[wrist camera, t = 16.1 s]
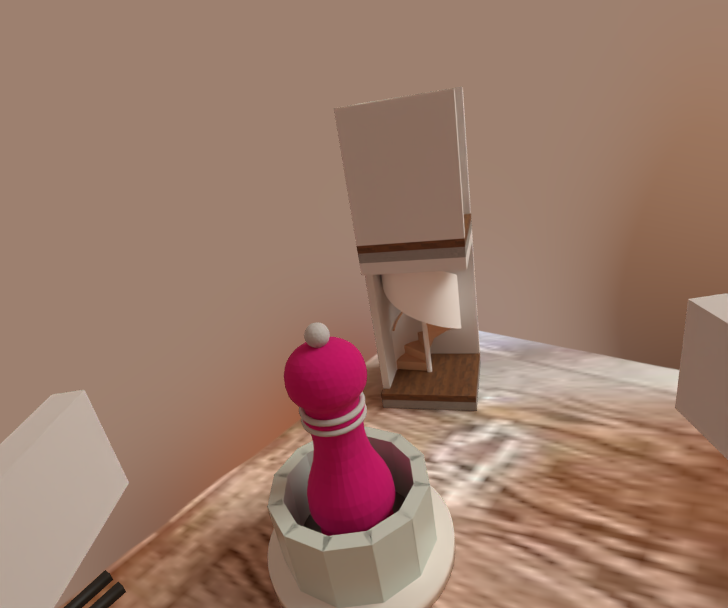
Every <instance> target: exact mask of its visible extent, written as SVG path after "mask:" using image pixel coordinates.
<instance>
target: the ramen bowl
mask: <svg viewBox="0 0 728 608" xmlns="http://www.w3.org/2000/svg"><path fill="white" fill-rule="evenodd" d="M112 580H113V579H112V577H111V575H110V574H109V573H108V572H107V571H106V570H105V571H104V572H103V573H102V574H100V575H99V576H98V577H97V578H96V579H95V580H94V581H93V582H92V583H91V584H89V585H88V586H87V587H86V588H85V589H84V590H83V591H82V592H81V593H80V594H78V595H77V596H76V597H75V598H74V599H73V600H72V601H71V602H70V603H69V604H67V605H66V606H65V607H64V608H82V607H83V606H84V605H85V604H87V603H88V602H89V601H90V600H91V599H92V598H93V597H94V596H95V595H97V594H98V593H99V592H100V591H101V590H102V589H103V588H104V587H105V586H107V585H108V584H109V583H110V582H111V581H112ZM125 592H126V591H125V589H124V587H123V586H122V585H121V584H120V583H119V582H117V583H116V584H115V585H114V586H113V587H112V588H111V589H109V590H108V591H107V592H106V593H105V594H104V595H103V596H102V597H101V598H99V599H98V600H97V601H96V602H95V603H94V604H93V605H92V606H91V607H89V608H108V607H109V606H111V605H112V604H113V603H114V602H115V601H116V600H117V599H118V598H120V597H121V596H122V595H123V594H124V593H125Z"/></svg>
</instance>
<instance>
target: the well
mask: <svg viewBox="0 0 728 608" xmlns="http://www.w3.org/2000/svg"><path fill="white" fill-rule="evenodd" d="M364 429H365V432H366V435H367V438H368V440H369V442H370V444H371V446H372V447H373V448H374V450H375V451H376V452H377V453H378V454H379V455H380V456H381V458H382V459H383V460H384V461H385V463H386V465H387V467H388V468H389V470H390V472H391V475H392V478H393V481H394V486H395V501H394V505H393V507H392V508H393V513H394V514H393V515H392V516H390V517H388V518H387V519H385V520H384V521H382V522H380V523H379V524H377V525H376V526H374V527H372V528H371V529H369V530H368V531H363V532H355V533H347V534H340V535H332V536H327V535H324V534H322V531H321V527H320V526H319V525H318V524H317V523H316V522H315V521H314V519H313V518H312V516H311V513H310V510H309V504H308V498H307V486H308V478H309V474H310V470H311V466H312V462H313V452H314V447H313V441H312V442H310V443H308V444H306V445H304V446H302V447H300V448H298V449H297V450H296V451H295V452H294V453H293V454H292V455H291V457H290V458H289V459H288V460H287V461H286V462H285V463H284V464H283V466H282V467H281V468H280V469H279V470H278V471H277V472H276V473H275V474H274V478H273V483H272V488H271V492H270V497H269V502H268V506H267V507H268V510H269V514H270V517H271V520H272V523H273V526H274V529H273V532H272V534H271V538H270V542H269V547H268V569H269V574H270V578H271V581H272V584H273V587H274V590H275V592H276V595H277V598H278V600H279V602H280V603H281V605H282V607H283V608H431V607H432V605H433V604H434V603H435V602H436V601H437V600H438V598H439V597H440V595H441V594H442V592H443V590H444V589H445V587H446V585H447V583H448V580H449V578H450V576H451V572H452V569H453V566H454V559H455V538H454V529H453V523H452V518H451V515H450V512H449V510H448V508H447V506H446V504H445V502H444V500H443V499H442V498H441V496H440V495H439V493H438V492H437V491H436V490H435V489H434V488H433V487H432V486H431V485H430V484H429V479H428V474H427V469H426V464H425V459H424V454H423V453H421V452H420V451H419V450H418V449H417V448H416V447H414V446H413V445H412V444H411V443H410V442H409V441H407V440H406V439H405V438H404V437H403V436H402V435H400V434H397V433H392V432H388V431H383V430H379V429H375V428H370V427H364Z"/></svg>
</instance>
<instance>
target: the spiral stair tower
mask: <svg viewBox="0 0 728 608" xmlns="http://www.w3.org/2000/svg"><path fill="white" fill-rule="evenodd" d="M334 113H335V118H336V125H337V131H338V137H339V143H340V149H341V155H342V160H343V167H344V173H345V179H346V185H347V191H348V197H349V203H350V209H351V215H352V221H353V227H354V233H355V239H356V245H357V251H358V257H359V263H360V269H361V275H365V280H366V286H367V291H368V298H369V304H370V310H371V316H372V323H373V329H374V335H375V340H376V347H377V353H378V359H379V365H380V372H381V378H382V384H383V390H382V393H381V396H382V402H383V407H385V408H414V409H443V410H471V411H477V401H478V389H479V376H480V364H481V363H480V347H479V332H478V316H477V301H476V285H475V270H474V256H473V255H474V254H473V239H472V223H471V208H470V192H469V178H468V161H467V146H466V130H465V115H464V100H463V87H458V88H452V89H445V90H439V91H433V92H427V93H421V94H415V95H409V96H403V97H397V98H392V99H385V100H379V101H373V102H367V103H362V104H356V105H350V106H345V107H340V108H334Z"/></svg>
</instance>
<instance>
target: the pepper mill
mask: <svg viewBox="0 0 728 608" xmlns="http://www.w3.org/2000/svg"><path fill="white" fill-rule="evenodd" d="M304 338H305V341H306V342H305V343H304V344H302V345H301V346H299V347H298V348H297V349H295V350H294V352H293V353H292V354H291V355H290V357H289V358H288V360H287V362H286V366H285V371H284V381H285V388H286V390H287V393H288V395H289V397H290V399H291V400H292V401H293V402H294V403H295V404H296V405H298V406H299V414H300V416H301V422H302V425H303V427H304V429H305V430H306V431H307V432H309V433H310V434H311V436H312V439H313V447H314V452H313V462H312V466H311V470H310V474H309V478H308V486H307V498H308V504H309V510H310V513H311V516H312V518H313V519H314V521H315V522H316V523H317V524H318V525H319V526H320V527H321V531H322V534H324V535H327V536H332V535H340V534H347V533H355V532H363V531H368V530H369V529H371V528H372V527H374V526H376V525H377V524H379V523H380V522H382V521H384V520H385V519H387V518H388V517H390V516H392V515H393V514H394V513H393V508H392V507H393V505H394V501H395V486H394V481H393V478H392V475H391V472H390V470H389V468H388V467H387V465H386V463H385V461H384V460H383V459H382V458H381V456H380V455H379V454H378V453H377V452H376V451H375V450H374V448H373V447H372V446H371V444H370V442H369V440H368V438H367V435H366V432H365V429H364V423H363V420H364V419H365V417H366V414H367V407H366V404H365V396H364V394H363V392H362V391H363V390H364V387H365V385H366V381H367V369H366V365H365V362H364V359H363V357H362V355H361V353H360V352H359V350H358V349H357V348H356V347H355V346H354V345H353V344H351V343H350V342H348V341H346V340H344V339H340V338H336V337H330V333H329V330H328V328H327V327H326V326H325V325H324V324H322V323H312V324H310V325H309V326H308V327H307V328H306V330H305V335H304Z"/></svg>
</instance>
